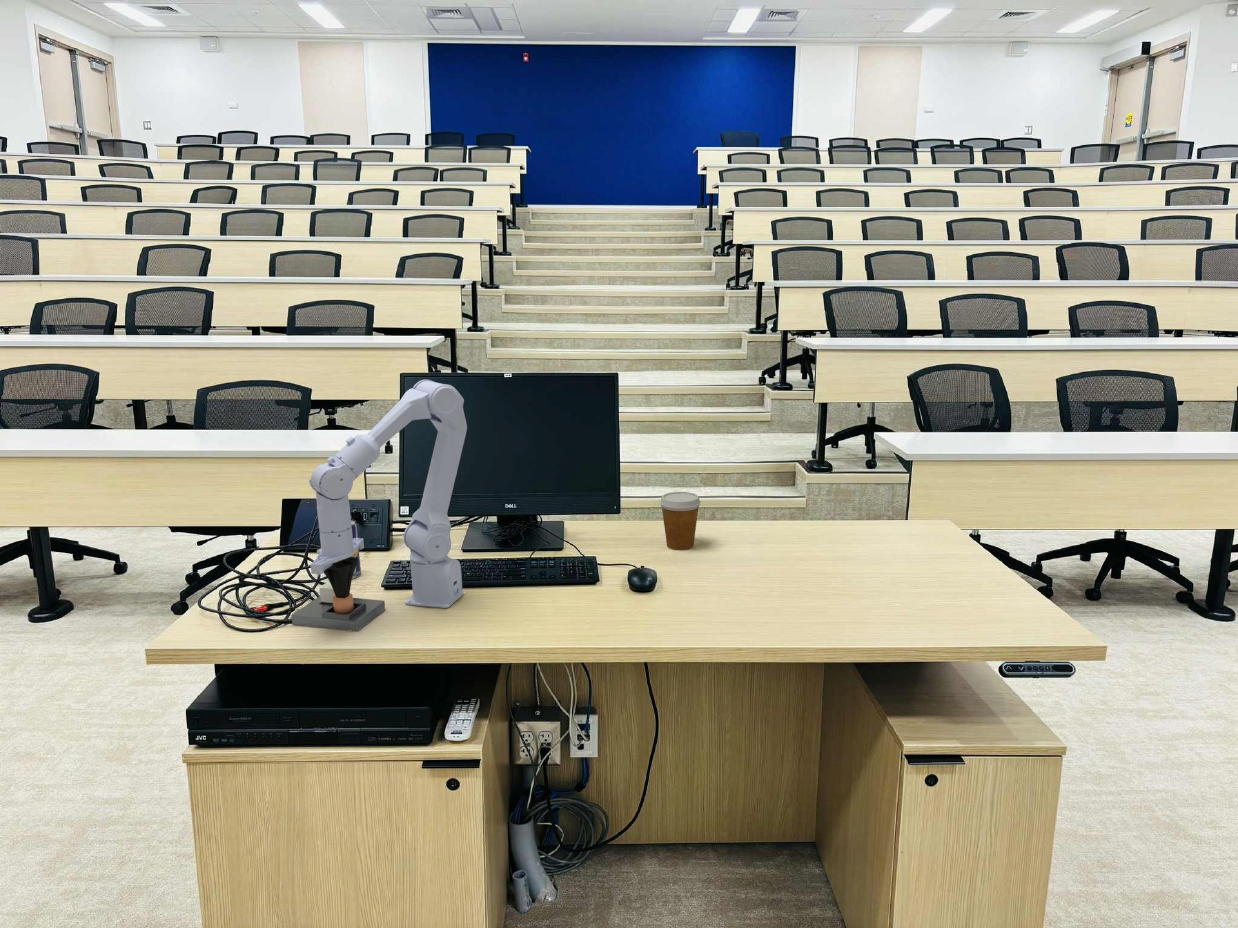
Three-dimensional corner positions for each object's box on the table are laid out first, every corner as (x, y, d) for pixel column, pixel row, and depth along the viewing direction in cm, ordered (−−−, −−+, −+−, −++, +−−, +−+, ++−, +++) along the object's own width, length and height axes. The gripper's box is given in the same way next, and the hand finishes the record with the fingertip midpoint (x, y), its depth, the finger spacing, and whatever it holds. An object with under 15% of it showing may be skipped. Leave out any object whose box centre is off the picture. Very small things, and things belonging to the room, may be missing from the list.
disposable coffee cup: (673, 536, 210) (673, 489, 207) (707, 543, 204) (708, 494, 201) (652, 547, 202) (651, 498, 199) (686, 555, 197) (686, 504, 194)
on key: (347, 597, 170) (346, 582, 170) (339, 603, 167) (337, 588, 167) (329, 595, 171) (328, 581, 171) (321, 601, 168) (319, 586, 168)
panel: (385, 610, 170) (384, 595, 169) (357, 631, 161) (356, 616, 160) (322, 604, 173) (321, 590, 173) (292, 624, 164) (290, 609, 163)
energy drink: (353, 581, 185) (348, 527, 182) (331, 579, 186) (325, 526, 183) (365, 572, 190) (360, 520, 187) (343, 570, 191) (338, 519, 189)
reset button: (357, 608, 165) (356, 593, 164) (347, 615, 162) (345, 600, 161) (341, 606, 166) (339, 591, 165) (330, 614, 163) (328, 599, 162)
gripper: (338, 515, 168) (345, 580, 171) (292, 539, 154) (301, 609, 157) (370, 517, 166) (376, 583, 169) (327, 541, 152) (335, 613, 156)
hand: (342, 596), depth 163 cm, fingers closed, pressing on reset button
